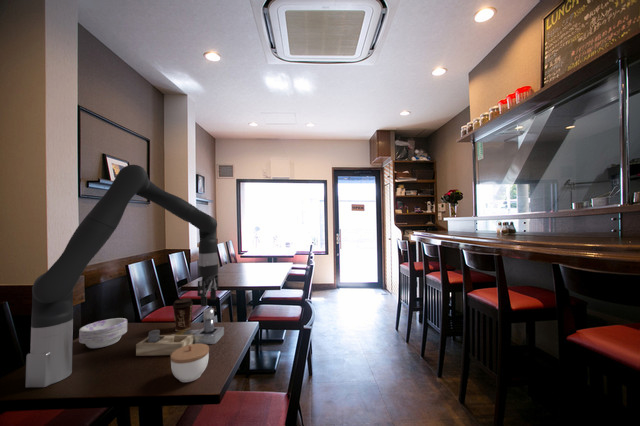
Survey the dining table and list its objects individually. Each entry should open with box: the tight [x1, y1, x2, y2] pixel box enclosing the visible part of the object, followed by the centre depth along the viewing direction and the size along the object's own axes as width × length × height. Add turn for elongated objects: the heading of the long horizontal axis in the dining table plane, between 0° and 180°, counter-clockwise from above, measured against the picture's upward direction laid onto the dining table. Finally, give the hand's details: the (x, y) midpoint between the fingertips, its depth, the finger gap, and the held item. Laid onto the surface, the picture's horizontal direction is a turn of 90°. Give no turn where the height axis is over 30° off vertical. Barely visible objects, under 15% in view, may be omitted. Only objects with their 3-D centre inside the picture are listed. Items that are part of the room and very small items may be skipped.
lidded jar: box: [170, 344, 210, 383], centre depth 81 cm, size 11×11×9 cm
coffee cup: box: [172, 297, 194, 332], centre depth 120 cm, size 9×8×13 cm
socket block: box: [193, 326, 225, 345], centre depth 107 cm, size 9×9×3 cm
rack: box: [135, 329, 193, 357], centre depth 99 cm, size 8×17×7 cm, turn 89°
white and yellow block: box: [175, 329, 200, 335], centre depth 108 cm, size 4×8×3 cm, turn 89°
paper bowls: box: [78, 317, 128, 349], centre depth 107 cm, size 15×15×8 cm
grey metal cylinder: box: [202, 307, 215, 334], centre depth 108 cm, size 4×4×12 cm
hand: (208, 302), depth 108 cm, fingers open, 8 cm apart
